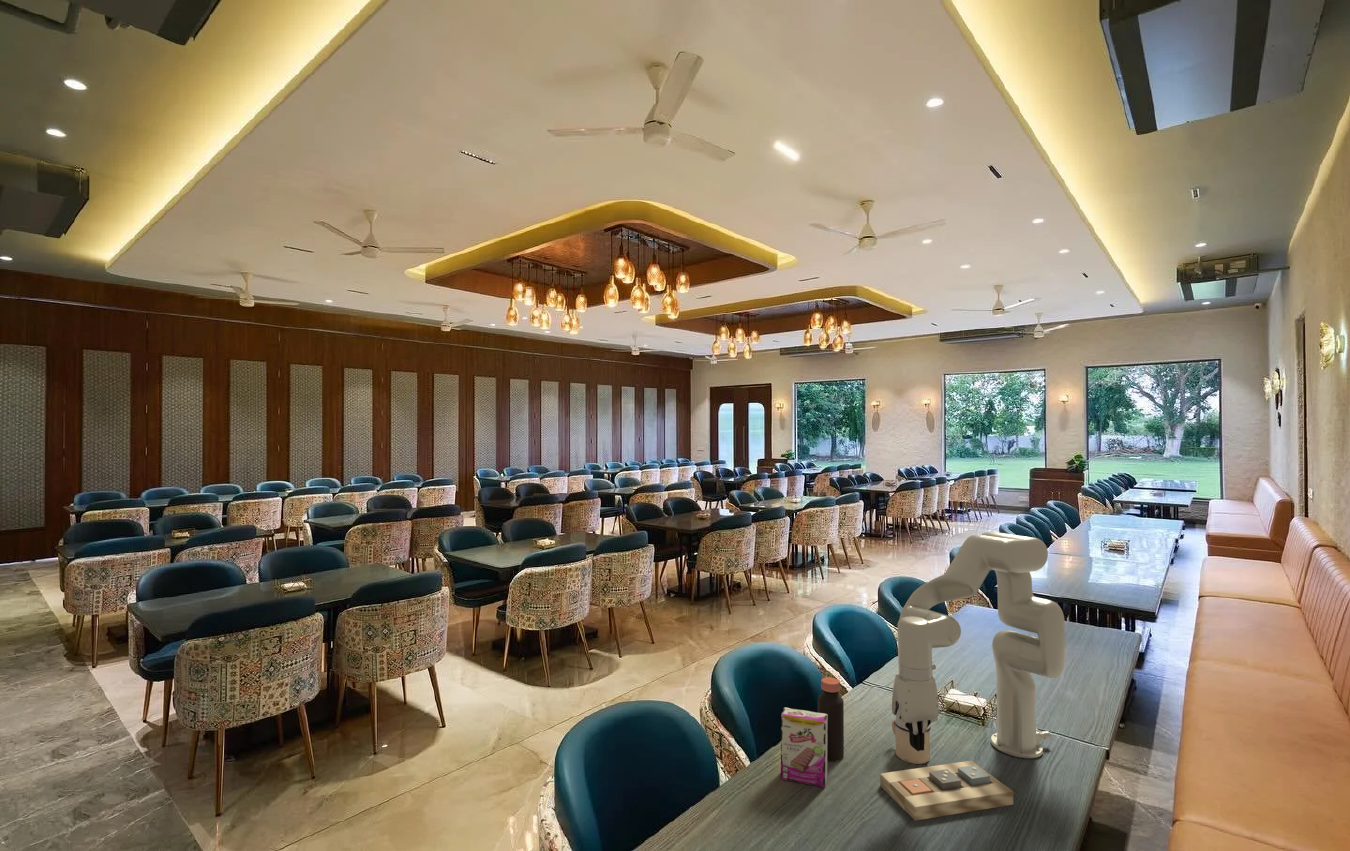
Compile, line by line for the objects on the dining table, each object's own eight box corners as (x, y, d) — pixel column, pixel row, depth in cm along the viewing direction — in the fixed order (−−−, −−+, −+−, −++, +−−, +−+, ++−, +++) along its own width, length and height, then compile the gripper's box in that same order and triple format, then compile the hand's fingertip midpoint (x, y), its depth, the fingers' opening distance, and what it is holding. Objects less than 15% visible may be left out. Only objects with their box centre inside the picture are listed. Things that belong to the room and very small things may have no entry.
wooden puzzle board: (971, 772, 157) (971, 760, 157) (1013, 804, 144) (1013, 791, 144) (880, 785, 151) (880, 773, 151) (915, 820, 138) (915, 807, 138)
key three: (947, 781, 150) (947, 768, 150) (961, 793, 146) (961, 779, 146) (929, 784, 149) (929, 771, 149) (942, 795, 144) (942, 782, 144)
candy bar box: (780, 780, 154) (780, 714, 154) (783, 770, 158) (783, 706, 159) (826, 788, 150) (825, 721, 150) (828, 778, 155) (827, 712, 155)
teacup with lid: (938, 760, 163) (938, 716, 163) (911, 768, 159) (911, 722, 159) (905, 740, 174) (905, 698, 174) (880, 746, 170) (879, 704, 171)
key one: (918, 791, 149) (918, 778, 149) (931, 803, 144) (931, 789, 144) (900, 793, 147) (900, 780, 147) (912, 806, 143) (912, 792, 143)
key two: (975, 777, 152) (975, 764, 152) (990, 788, 147) (989, 775, 147) (957, 779, 151) (957, 767, 151) (972, 791, 146) (972, 778, 146)
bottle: (845, 763, 162) (844, 686, 162) (818, 760, 163) (818, 684, 163) (842, 749, 168) (842, 676, 169) (817, 747, 170) (817, 674, 170)
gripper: (932, 661, 151) (934, 735, 151) (878, 668, 148) (880, 744, 148) (953, 673, 144) (955, 751, 144) (896, 681, 141) (898, 761, 141)
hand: (917, 747), depth 146 cm, fingers closed
